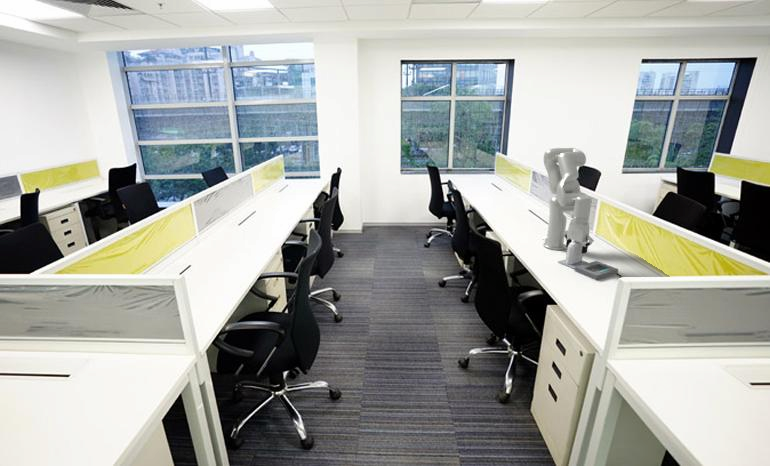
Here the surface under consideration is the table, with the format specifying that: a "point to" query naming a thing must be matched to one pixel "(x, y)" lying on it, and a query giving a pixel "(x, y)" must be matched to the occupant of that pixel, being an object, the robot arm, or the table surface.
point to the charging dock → (596, 275)
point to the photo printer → (574, 252)
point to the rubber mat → (572, 264)
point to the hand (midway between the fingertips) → (576, 250)
